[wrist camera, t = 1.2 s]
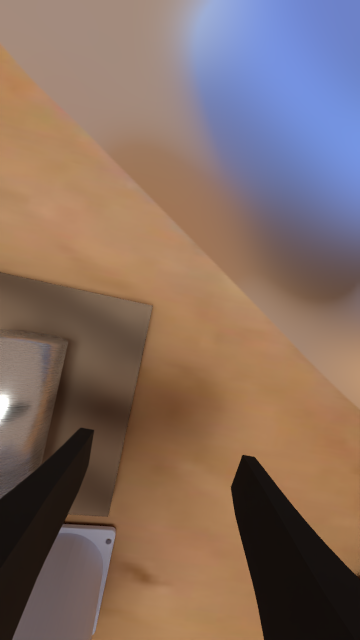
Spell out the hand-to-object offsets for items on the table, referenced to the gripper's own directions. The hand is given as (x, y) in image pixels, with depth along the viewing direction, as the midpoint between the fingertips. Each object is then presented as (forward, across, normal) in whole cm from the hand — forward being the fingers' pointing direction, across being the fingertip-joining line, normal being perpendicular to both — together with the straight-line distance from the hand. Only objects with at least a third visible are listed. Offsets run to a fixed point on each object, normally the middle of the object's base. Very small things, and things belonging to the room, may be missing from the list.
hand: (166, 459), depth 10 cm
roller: (+4, +10, +3) cm, 11 cm away
